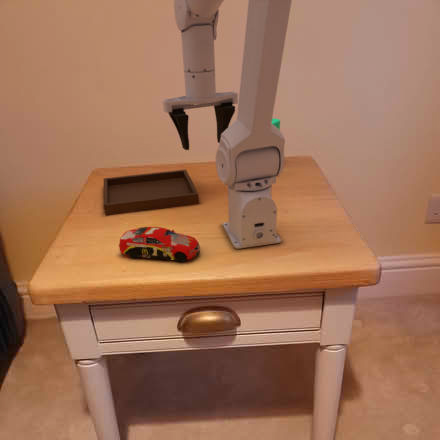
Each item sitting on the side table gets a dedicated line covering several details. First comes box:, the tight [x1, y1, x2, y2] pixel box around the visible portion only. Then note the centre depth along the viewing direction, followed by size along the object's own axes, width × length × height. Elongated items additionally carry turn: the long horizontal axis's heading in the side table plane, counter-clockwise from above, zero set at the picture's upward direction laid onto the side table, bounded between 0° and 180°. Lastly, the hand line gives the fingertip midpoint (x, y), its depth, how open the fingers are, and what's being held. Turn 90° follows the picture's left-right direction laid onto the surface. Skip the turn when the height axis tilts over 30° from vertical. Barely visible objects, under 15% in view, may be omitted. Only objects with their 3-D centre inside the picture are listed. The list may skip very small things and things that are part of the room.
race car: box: [118, 226, 201, 263], centre depth 68 cm, size 13×5×4 cm, turn 76°
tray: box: [103, 169, 200, 216], centre depth 90 cm, size 16×19×2 cm
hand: (203, 145), depth 85 cm, fingers open, 7 cm apart
